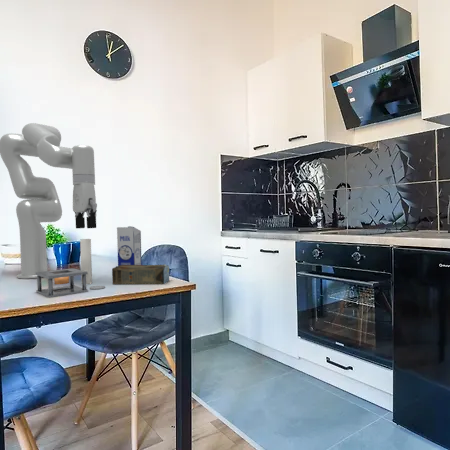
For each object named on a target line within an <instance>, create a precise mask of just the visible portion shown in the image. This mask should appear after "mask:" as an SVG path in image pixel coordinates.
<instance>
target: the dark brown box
mask: <svg viewBox="0 0 450 450" xmlns="http://www.w3.org/2000/svg"><path fill="white" fill-rule="evenodd" d="M111 275H112V276H111V277H112V285H166V284H167V283H168V282H169V281H170V266H169V265H168V264H166V263H165V264H142V265H119V266H118V265H116V266H114V267H112V270H111Z"/></svg>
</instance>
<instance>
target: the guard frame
mask: <svg viewBox="0 0 450 450" xmlns="http://www.w3.org/2000/svg"><path fill="white" fill-rule="evenodd" d="M86 274H87V271H82V270H81V269H77V268H73V267H71V268H64V269H56V270H55V269H54V270H53V269H52V270H47V271H44V272H36V275H37V278H36V281H37V282H36V283H37V287H36V288H37V290H36V289H35V291H36V293H37V294H39V295H42V296H45V297H47V298H54V297H61V296H66V295H73V294H81V293H86V292H89V290H88V288H87V284H86ZM81 275H82V281H81V285H82V287H81V286H78V285H75V280H74V279H75V277H76V276H81ZM68 276H69V285H65V286H64V285H63V286H57V287H54V282H53V281H54V278H60V277H68ZM42 278H44V279H47V284H48V285H47V286H48V288H43V287H42Z"/></svg>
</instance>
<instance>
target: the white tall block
mask: <svg viewBox="0 0 450 450" xmlns="http://www.w3.org/2000/svg"><path fill="white" fill-rule="evenodd" d="M79 242H80V244H79V245H80V248H79V249H80V270H82V271H87V274H86V285H91V284H93V266H92V265H93V264H92V263H93V261H92V239H91V238H82V239H80V240H79ZM80 277H81V278H80V279H81V282H82V275H80Z"/></svg>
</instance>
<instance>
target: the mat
mask: <svg viewBox="0 0 450 450" xmlns="http://www.w3.org/2000/svg"><path fill="white" fill-rule="evenodd" d="M103 289H106V286H105V285H92V286H90V287H89V290H93V291H95V290H97V291H98V290H103Z"/></svg>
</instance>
